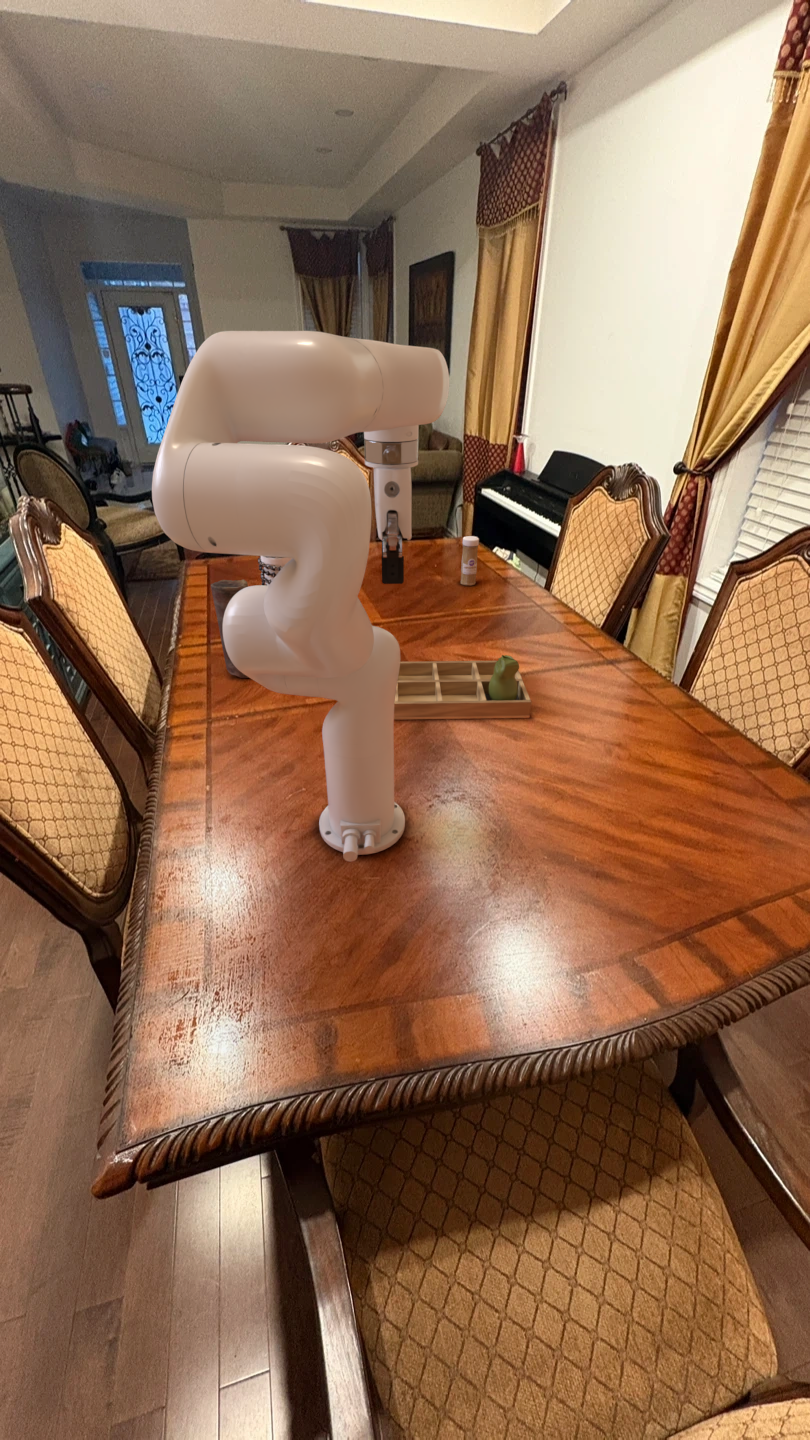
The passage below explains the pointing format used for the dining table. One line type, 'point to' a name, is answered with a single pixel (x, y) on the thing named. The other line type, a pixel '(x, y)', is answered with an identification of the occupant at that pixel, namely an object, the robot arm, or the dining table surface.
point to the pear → (504, 679)
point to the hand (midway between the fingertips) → (392, 572)
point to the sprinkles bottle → (469, 560)
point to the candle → (221, 598)
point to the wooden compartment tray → (454, 692)
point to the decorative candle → (271, 567)
